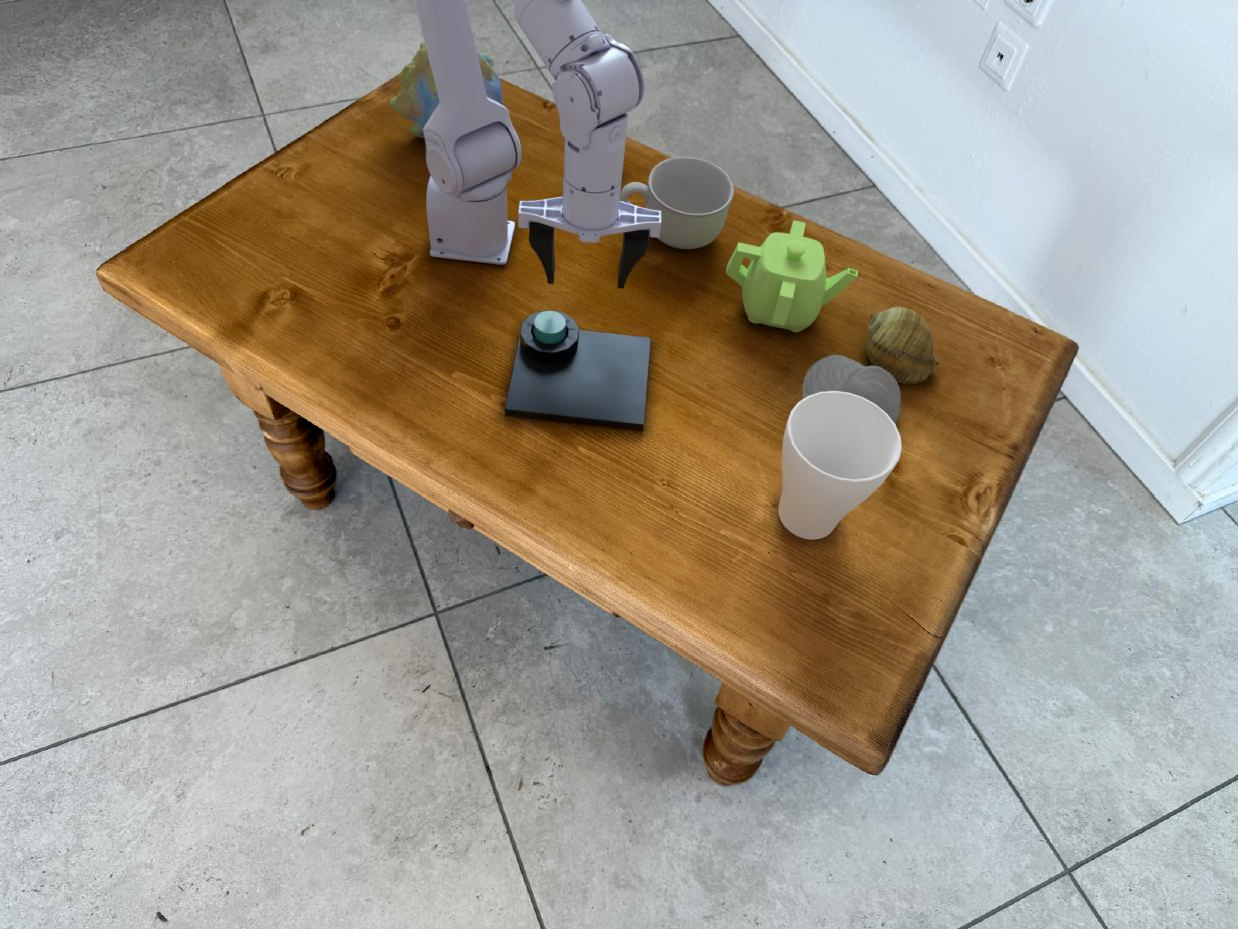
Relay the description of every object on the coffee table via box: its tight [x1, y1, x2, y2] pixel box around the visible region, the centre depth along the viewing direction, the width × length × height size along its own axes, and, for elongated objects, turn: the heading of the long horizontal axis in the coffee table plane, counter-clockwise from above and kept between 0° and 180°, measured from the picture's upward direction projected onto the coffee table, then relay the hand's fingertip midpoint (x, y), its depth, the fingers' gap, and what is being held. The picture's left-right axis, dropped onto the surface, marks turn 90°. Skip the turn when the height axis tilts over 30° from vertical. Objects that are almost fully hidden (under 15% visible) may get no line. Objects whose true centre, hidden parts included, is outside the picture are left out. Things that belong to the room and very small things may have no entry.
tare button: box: [534, 310, 566, 345], centre depth 99 cm, size 4×4×2 cm
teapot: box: [725, 219, 859, 333], centre depth 105 cm, size 12×12×10 cm
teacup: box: [620, 156, 735, 250], centre depth 112 cm, size 14×11×8 cm
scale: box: [504, 309, 652, 432], centre depth 98 cm, size 15×14×3 cm
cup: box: [778, 391, 903, 541], centre depth 85 cm, size 10×10×14 cm
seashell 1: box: [801, 354, 902, 426], centre depth 97 cm, size 12×6×10 cm
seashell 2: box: [865, 306, 940, 386], centre depth 103 cm, size 10×7×8 cm
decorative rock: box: [389, 41, 503, 139], centre depth 119 cm, size 14×16×15 cm
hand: (586, 280), depth 97 cm, fingers open, 7 cm apart
